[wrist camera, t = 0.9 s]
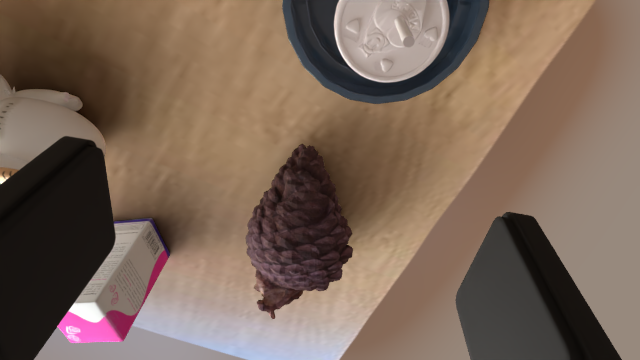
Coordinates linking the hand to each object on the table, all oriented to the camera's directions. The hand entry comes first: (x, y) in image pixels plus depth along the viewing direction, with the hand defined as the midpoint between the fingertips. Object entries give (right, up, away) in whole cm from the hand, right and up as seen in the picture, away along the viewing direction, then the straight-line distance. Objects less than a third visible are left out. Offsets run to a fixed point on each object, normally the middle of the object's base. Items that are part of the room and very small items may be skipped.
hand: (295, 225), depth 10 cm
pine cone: (-1, -2, +32) cm, 33 cm away
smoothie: (+5, +15, +21) cm, 26 cm away
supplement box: (-20, -5, +36) cm, 42 cm away
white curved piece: (-26, +7, +28) cm, 39 cm away
